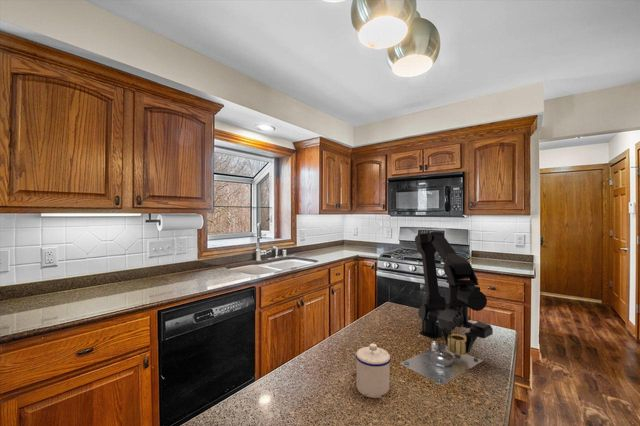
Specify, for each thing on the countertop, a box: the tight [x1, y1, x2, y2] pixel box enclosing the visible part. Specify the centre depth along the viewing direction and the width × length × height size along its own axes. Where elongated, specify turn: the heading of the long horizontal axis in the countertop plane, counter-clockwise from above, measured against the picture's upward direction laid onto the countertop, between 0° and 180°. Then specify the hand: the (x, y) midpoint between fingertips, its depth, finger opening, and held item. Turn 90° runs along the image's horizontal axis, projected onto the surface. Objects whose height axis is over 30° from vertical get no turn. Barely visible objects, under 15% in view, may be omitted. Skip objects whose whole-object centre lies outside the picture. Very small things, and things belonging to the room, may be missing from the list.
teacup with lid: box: [354, 343, 391, 399], centre depth 79 cm, size 12×9×12 cm
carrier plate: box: [399, 339, 484, 386], centre depth 90 cm, size 14×23×4 cm, turn 126°
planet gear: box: [447, 333, 469, 355], centre depth 94 cm, size 6×6×4 cm
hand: (457, 348), depth 94 cm, fingers closed on planet gear, 6 cm apart
